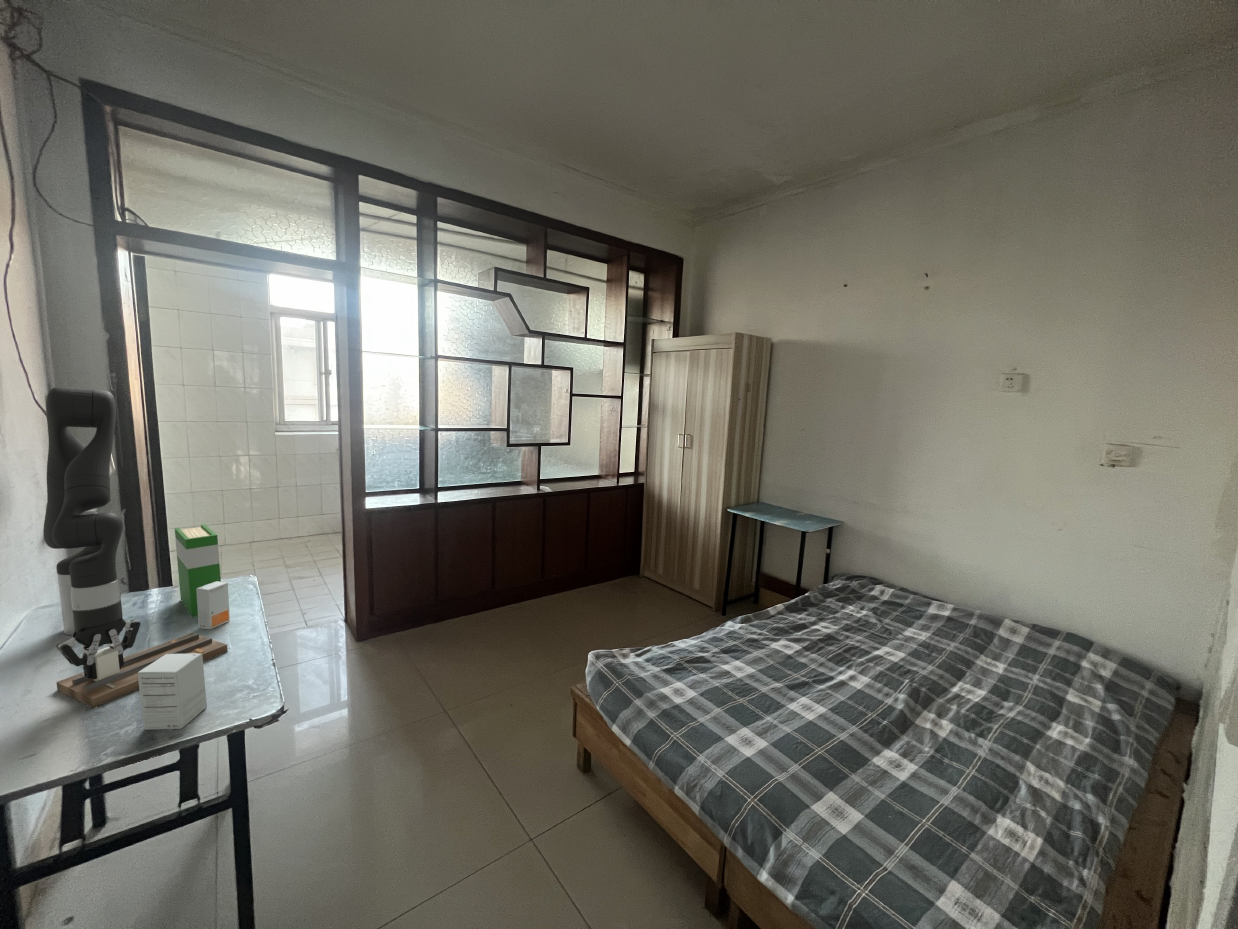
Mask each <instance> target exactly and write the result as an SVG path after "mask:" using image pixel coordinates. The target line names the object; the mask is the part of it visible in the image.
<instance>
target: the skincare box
mask: <svg viewBox="0 0 1238 929" xmlns="http://www.w3.org/2000/svg"><path fill="white" fill-rule="evenodd" d="M196 592H197V607H198V616H197V622H198V628H199V629H204V630H213V629H214V628H216V627H217V628H218V627H219V626H222V625H223V624H226V623H229V622H230V621H231V619H230V617H231V616H230V600H229V599H230V598H229V583H228V582H225V581H224V582H223V581H221V582H218V581H216V582H213V583H210V584H207V585H205V586H202V587H199V588H197V589H196Z"/></svg>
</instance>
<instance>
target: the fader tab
mask: <svg viewBox="0 0 1238 929" xmlns="http://www.w3.org/2000/svg"><path fill="white" fill-rule="evenodd" d="M94 663H96V672H97V678H96V679H94V681H99V680H101V679H104V678H106V677H109V676H112V675H114V674H117V673H119V672H120V668H119V659H118V651H117V650H114V649H112V648H110V647H109V646H107V647H104V648H103V647H102V648H101V649H98V651H97V653H96V655H95V660H94Z"/></svg>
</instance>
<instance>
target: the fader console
mask: <svg viewBox="0 0 1238 929" xmlns="http://www.w3.org/2000/svg"><path fill="white" fill-rule="evenodd" d="M227 652H228V644H226V643H223V642H221V641H218V640H215V639H213V637H209V638H208V637H206V636H203V635H200V634H199V633H193V632H190V633H188V634H185V635H182V636H180V637H179V636H178V637H176V638H174V639H171V640H168V641H166V642H163V643H160V644H158V645H155V646H151V647H149V648H146V649H144V650H142V651H138V652H135V653H132V654H130V655H127V656H123V660H124V665H123V666H121V669H120V672H119V673H117V674H114V675H112V676H109V677H106V678H104V679H101V680H99V681H94V680H91V679H89V678H87V677H85V676H84V671H83V672H80V673H77V674H74V675H72V676H69V677H66V678H64V679H61V680H59V681H56V689H57V690H56V691H58V692H60V693H62V694H64V695H66V696H68V697H70V698H72V699H75V700H77V701H79V702H81V703H83V704H85V705H87V706H89V707H91V708H96V707H98V706H102V705H103V704H106V703H108V702H110V701H113V700H115V699H117V698H120V697H123V696H124V695H127V694H130V693H133V692H135V691H137V690H139V681H138V672H139V671H141V670H142V669H144V668H145V667H147V666H148V665H150V664H152V663H153V662H155V661H156V660H158V659H159V658H161V657H162V656H164V655H165V654H191V653H198V654H202V657H203V663H204V662H207V661H208V660H212V659H214V658H216V657H218V656H220V655H223V654H225V653H227Z"/></svg>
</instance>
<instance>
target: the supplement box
mask: <svg viewBox="0 0 1238 929" xmlns="http://www.w3.org/2000/svg"><path fill="white" fill-rule="evenodd" d="M204 671H205V670H204V662H203V657H202V654H198V653H191V654H165V655H164V656H162V657H161V658H159V659H158V660H156V661H155V662H153V663H152V664H150V665H148V666H147V667H145V668H144V669H142V670H141V671H139V672H138V681H139V689H138V690H139V696H140V698H139V699H140V707H141V708H140V709H141V716H142V717H141V718H142V725H143V730H153V731H154V730H177V729H178V730H180V729H183V728H184V727H185V726H186V725H188V724H189V723H190V722H191V721H193V720H194V719H195V718H196V717H197V716H198V715H199V714H200V713H202V711H204V710H205V709H206V708H207V707H208V703H207V693H206V690H207V689H206V682H205V672H204Z"/></svg>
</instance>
